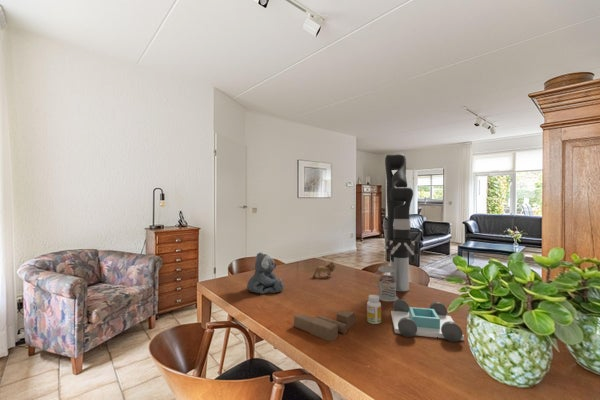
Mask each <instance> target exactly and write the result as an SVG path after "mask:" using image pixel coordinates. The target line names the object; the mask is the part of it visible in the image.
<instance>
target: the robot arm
mask: <svg viewBox="0 0 600 400" xmlns="http://www.w3.org/2000/svg"><path fill="white" fill-rule="evenodd" d="M406 158H407V157H406V156H405V154H403V153H393V154H387V155H386V156H385V159H384V163H385V164H384V166H385V176H386V178H385V179H386V207H387V208H386V209H387V222H386V223H387V224H386V239H387V240H386V246H388V249H385V252H386V253H388V254H389V261H390V263H389V264H390V265H389V266H391V267H393V268H395V269H396V270H395V272H389V274H390V275H389V276H393V277H395V279H394V280H395V281H396V292H408V291H409V290H410V276H409V275H410V267H409V266H410V265H409V264H413V263H415V255H417V254H419V243H418V241H417V240H411V220H410V208H411V203H412V200H413V197H414V190H413V189H412V188H411V187H409V186H408V181H407V176H406V175H407V159H406ZM393 171H395V173H393ZM392 244H393V245H394V246H393V247H392V249H391V248H390V246H391V245H392ZM411 245H413V246H414V250H413V249H412V248H410V246H411ZM390 249H391V250H390ZM409 253H410V255H409ZM409 256H410V259H409ZM409 261H410V263H409ZM391 289H392V288H391Z"/></svg>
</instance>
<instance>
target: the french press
mask: <svg viewBox="0 0 600 400" xmlns="http://www.w3.org/2000/svg"><path fill="white" fill-rule="evenodd" d="M383 249H384V250H386V249H388V246H387V245H384V247H383ZM385 255H386V256H385V263H386V265H382V266H379V267H378V268H377V269H378V271H376V272H374V273H373V275H372V279H374V278H375V275H377V274H378V276H379V277H378V278H379V279H378V285H377V284H376V283H375V282H374V280H372V283H373V285H374V286H375V287H377V288H378V294H376V295H377V296H379V301H380V300H381V301H383V302H387V303H389V302H394V301H395V300H397V299H399V296H397V291H396V281H395V280H394V279H395V277H393V276H390V275H389V274H390V272H395V270H396V269H395V268H393V267H391V266H390V265H387V264H388V261H387V257H388V256H387V252H385ZM380 272H381V273H386V274H382V275H380ZM388 273H389V274H388ZM391 288H392V289H391Z"/></svg>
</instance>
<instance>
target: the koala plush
mask: <svg viewBox="0 0 600 400" xmlns="http://www.w3.org/2000/svg"><path fill="white" fill-rule="evenodd" d="M255 256H256V257H255V265H254V270H255V271H254V274H253V275H252V276H251V277H250V278H249V280H248V281H247V286H246V288H247V290H248V291H249V292H250V293H255V294H259V293H260V295H262V294H263V295H264V294H267V293H269V294H276V292H277V293H281V292H282V291H283V290H284V284H283V281H282V279H281V278H277V277H276V275H275V273H274V270H275V269H276V266H277V264H276V263H275V261H274V260H273V259H272V258H271V256H270V255H269V254H267V253H266V254H265V253H263V252H258V253H257V254H256V255H255Z"/></svg>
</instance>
